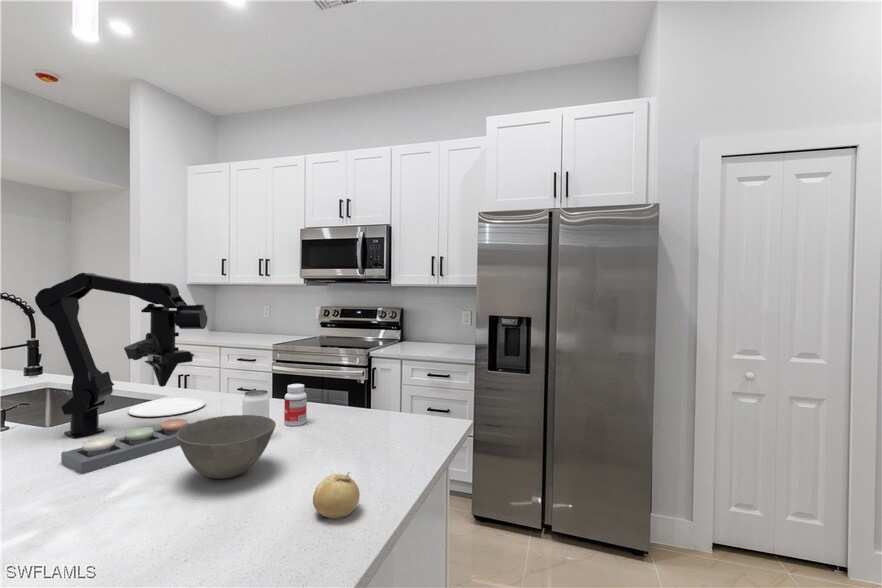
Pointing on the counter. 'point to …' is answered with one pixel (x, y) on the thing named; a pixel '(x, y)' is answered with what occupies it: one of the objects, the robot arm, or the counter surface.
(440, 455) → the counter surface
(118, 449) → the panel
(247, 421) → the bowl
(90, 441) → the ivory button
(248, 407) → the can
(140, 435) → the sage button
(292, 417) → the pill bottle
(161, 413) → the plate
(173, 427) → the terracotta button
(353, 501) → the onion
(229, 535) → the counter surface
